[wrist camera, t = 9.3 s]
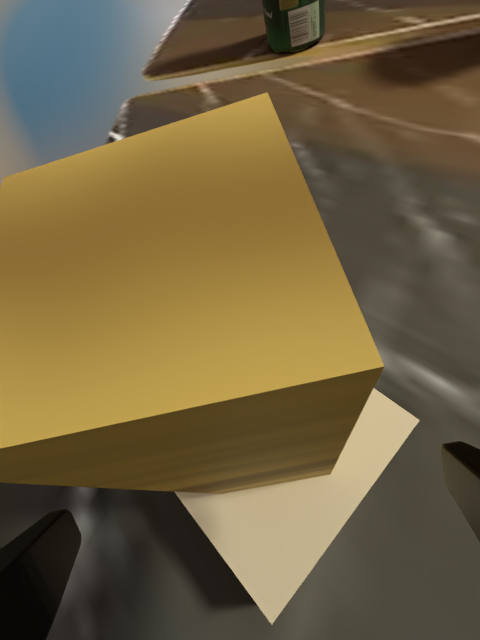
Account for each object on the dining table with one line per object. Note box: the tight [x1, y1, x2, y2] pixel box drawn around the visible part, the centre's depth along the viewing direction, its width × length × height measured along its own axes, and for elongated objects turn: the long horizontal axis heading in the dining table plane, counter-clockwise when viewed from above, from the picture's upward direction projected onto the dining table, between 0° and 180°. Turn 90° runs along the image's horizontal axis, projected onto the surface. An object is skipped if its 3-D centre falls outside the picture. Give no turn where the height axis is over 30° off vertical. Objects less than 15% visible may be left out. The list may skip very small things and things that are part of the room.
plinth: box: [175, 388, 419, 624], centre depth 16 cm, size 10×10×3 cm
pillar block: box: [0, 93, 384, 494], centre depth 10 cm, size 5×5×13 cm
